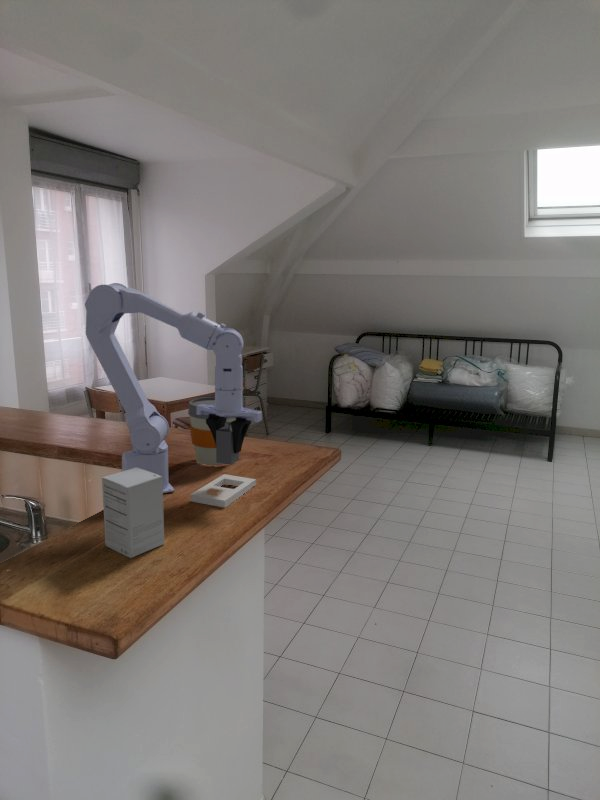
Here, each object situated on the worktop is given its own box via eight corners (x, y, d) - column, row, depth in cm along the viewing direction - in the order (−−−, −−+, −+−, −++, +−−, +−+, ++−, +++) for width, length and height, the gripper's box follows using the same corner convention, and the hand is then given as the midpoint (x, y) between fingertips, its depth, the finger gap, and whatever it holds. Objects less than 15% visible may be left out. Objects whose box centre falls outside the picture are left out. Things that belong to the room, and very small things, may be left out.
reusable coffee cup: (246, 466, 151) (247, 406, 148) (195, 471, 146) (194, 409, 143) (232, 452, 162) (232, 395, 159) (184, 456, 158) (183, 398, 154)
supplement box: (139, 532, 113) (137, 466, 111) (165, 544, 109) (163, 475, 106) (103, 546, 108) (100, 476, 105) (129, 559, 103) (127, 486, 100)
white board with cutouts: (224, 507, 125) (224, 497, 125) (190, 501, 128) (190, 491, 128) (255, 485, 138) (255, 476, 138) (223, 480, 141) (223, 471, 141)
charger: (231, 464, 131) (230, 425, 129) (216, 462, 132) (216, 423, 130) (238, 460, 134) (238, 421, 132) (224, 457, 135) (224, 419, 133)
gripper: (188, 388, 129) (189, 451, 132) (251, 395, 124) (250, 460, 127) (206, 382, 136) (206, 442, 139) (266, 388, 130) (265, 451, 133)
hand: (228, 450), depth 133 cm, fingers closed on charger, 3 cm apart
